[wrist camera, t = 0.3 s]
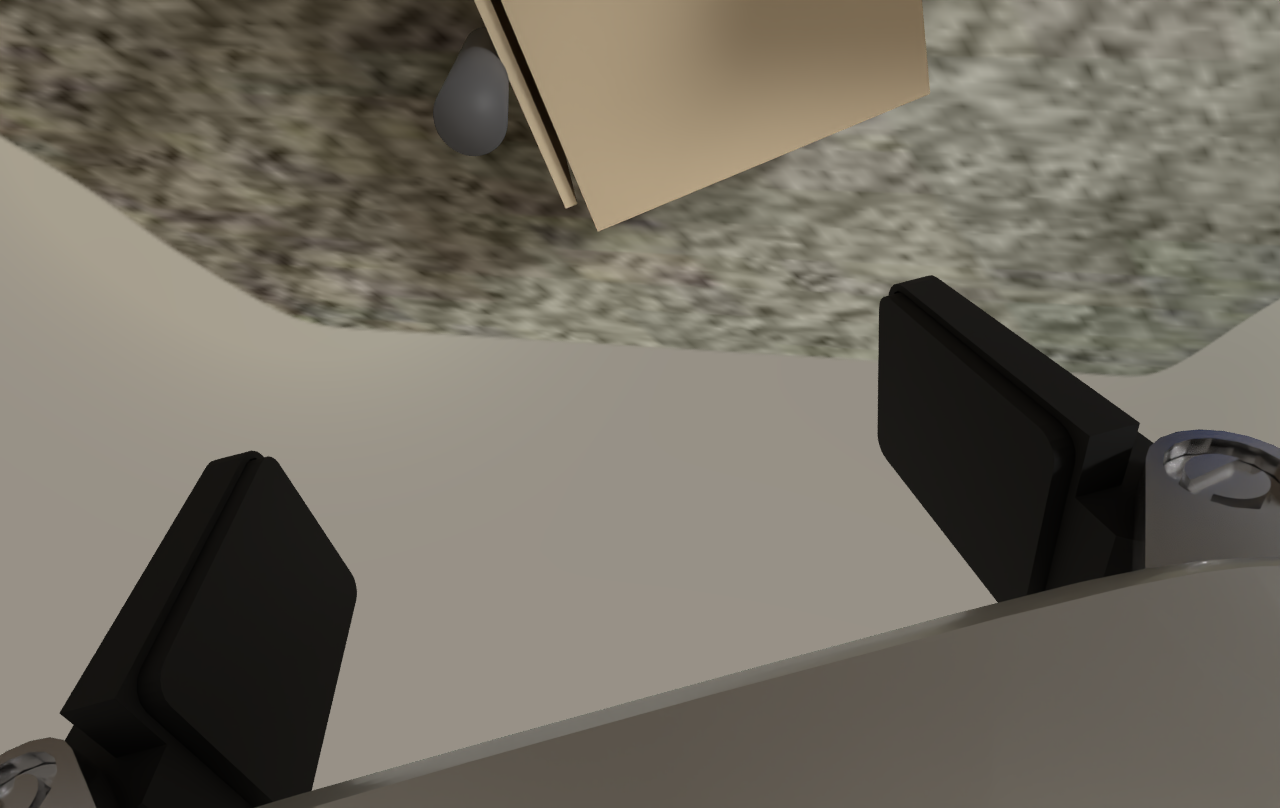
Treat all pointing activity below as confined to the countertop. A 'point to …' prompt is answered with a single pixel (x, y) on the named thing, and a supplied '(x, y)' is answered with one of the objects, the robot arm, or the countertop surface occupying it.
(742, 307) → the countertop surface
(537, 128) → the flap
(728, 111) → the wooden cabinet
